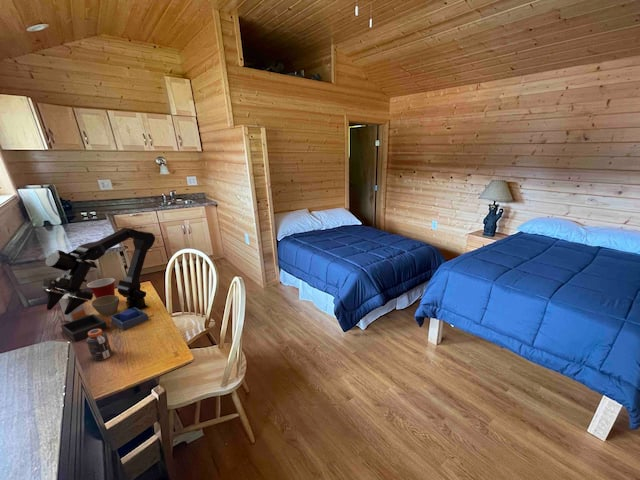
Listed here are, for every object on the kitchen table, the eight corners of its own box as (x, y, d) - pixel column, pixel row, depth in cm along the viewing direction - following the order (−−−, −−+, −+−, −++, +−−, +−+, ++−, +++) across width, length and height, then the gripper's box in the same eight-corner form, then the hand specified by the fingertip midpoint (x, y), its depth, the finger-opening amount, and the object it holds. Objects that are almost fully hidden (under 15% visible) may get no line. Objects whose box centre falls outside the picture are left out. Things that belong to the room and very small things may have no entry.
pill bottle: (114, 355, 116) (107, 331, 112) (94, 363, 112) (86, 338, 107) (109, 349, 119) (102, 325, 115) (90, 356, 115) (81, 331, 111)
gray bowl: (127, 311, 145) (123, 298, 142) (104, 320, 136) (100, 307, 134) (113, 306, 148) (110, 293, 146) (90, 315, 140) (86, 301, 137)
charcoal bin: (94, 320, 136) (92, 314, 135) (107, 328, 131) (105, 322, 130) (62, 332, 127) (60, 325, 125) (75, 341, 122) (72, 334, 121)
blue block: (130, 317, 140) (128, 308, 138) (138, 319, 139) (136, 310, 137) (121, 322, 136) (119, 313, 134) (129, 324, 135) (127, 315, 133)
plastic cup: (107, 296, 156) (101, 275, 151) (126, 299, 155) (120, 278, 150) (86, 306, 146) (79, 284, 141) (106, 309, 145) (100, 287, 140)
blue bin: (136, 313, 144) (135, 307, 143) (148, 320, 140) (147, 313, 138) (111, 322, 135) (110, 316, 134) (123, 330, 131) (122, 323, 130)
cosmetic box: (73, 322, 133) (65, 298, 129) (65, 320, 134) (57, 297, 130) (87, 315, 139) (79, 292, 134) (79, 314, 140) (72, 291, 135)
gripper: (36, 264, 115) (14, 303, 110) (72, 272, 111) (51, 313, 106) (67, 272, 125) (48, 308, 121) (101, 280, 121) (83, 318, 117)
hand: (57, 312), depth 116 cm, fingers open, 9 cm apart
